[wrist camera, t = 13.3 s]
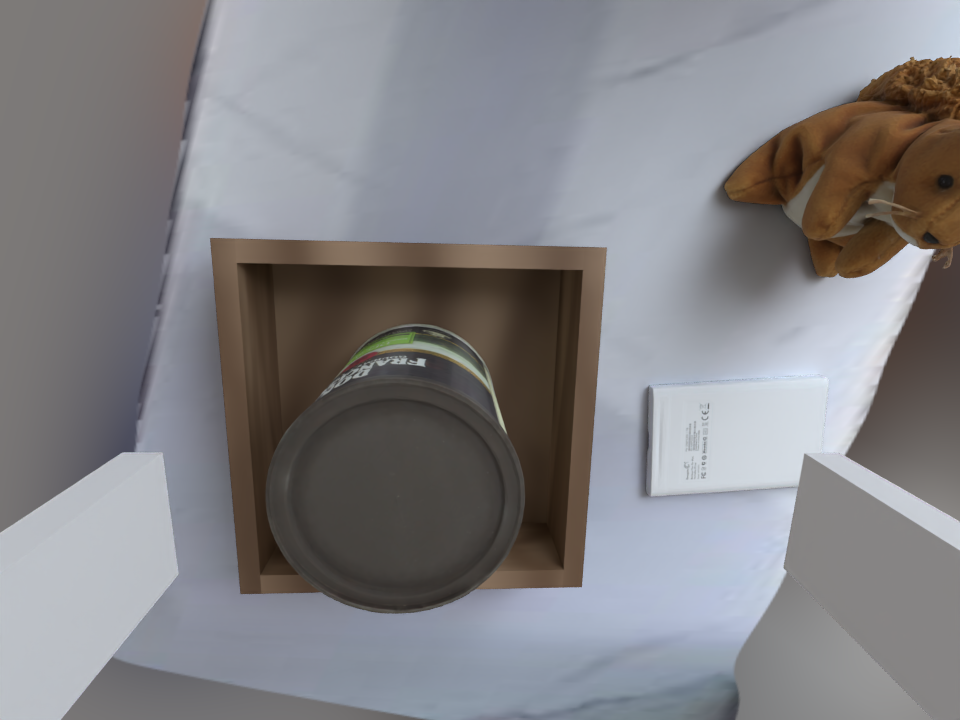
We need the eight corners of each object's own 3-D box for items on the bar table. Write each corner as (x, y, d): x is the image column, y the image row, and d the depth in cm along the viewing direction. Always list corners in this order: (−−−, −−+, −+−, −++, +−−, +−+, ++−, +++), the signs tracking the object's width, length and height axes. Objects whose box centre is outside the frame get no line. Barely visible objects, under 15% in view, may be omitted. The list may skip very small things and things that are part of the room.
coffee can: (307, 370, 33) (210, 457, 20) (448, 294, 33) (449, 330, 19) (388, 497, 36) (350, 655, 22) (520, 429, 35) (568, 546, 21)
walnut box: (576, 247, 34) (606, 247, 27) (559, 530, 38) (581, 587, 32) (256, 239, 32) (210, 238, 26) (275, 534, 37) (240, 594, 30)
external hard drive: (803, 477, 39) (642, 488, 39) (813, 372, 37) (645, 382, 37) (818, 487, 38) (651, 499, 37) (830, 378, 36) (654, 389, 35)
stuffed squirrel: (707, 194, 34) (868, 162, 21) (874, 23, 32) (1160, -126, 19) (800, 299, 36) (1000, 329, 23) (962, 142, 34) (1275, 79, 21)
